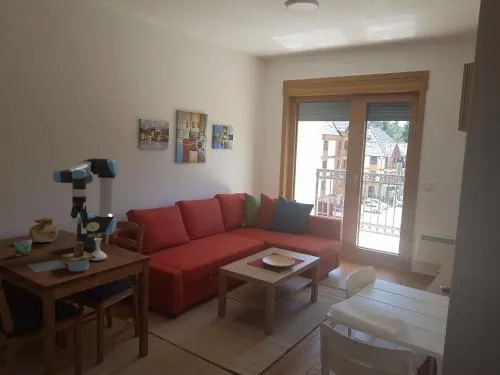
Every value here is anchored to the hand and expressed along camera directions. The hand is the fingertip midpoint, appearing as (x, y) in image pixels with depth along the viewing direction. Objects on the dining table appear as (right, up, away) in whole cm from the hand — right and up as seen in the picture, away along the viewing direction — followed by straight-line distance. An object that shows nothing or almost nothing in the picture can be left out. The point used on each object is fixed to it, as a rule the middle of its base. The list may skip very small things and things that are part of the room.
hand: (79, 231), depth 223 cm
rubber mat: (-21, -22, +3) cm, 31 cm away
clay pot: (-52, -15, +57) cm, 78 cm away
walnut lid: (-1, -16, +1) cm, 16 cm away
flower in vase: (+1, -21, +22) cm, 31 cm away
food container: (-45, -19, +22) cm, 54 cm away
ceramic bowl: (-1, -23, +2) cm, 23 cm away
